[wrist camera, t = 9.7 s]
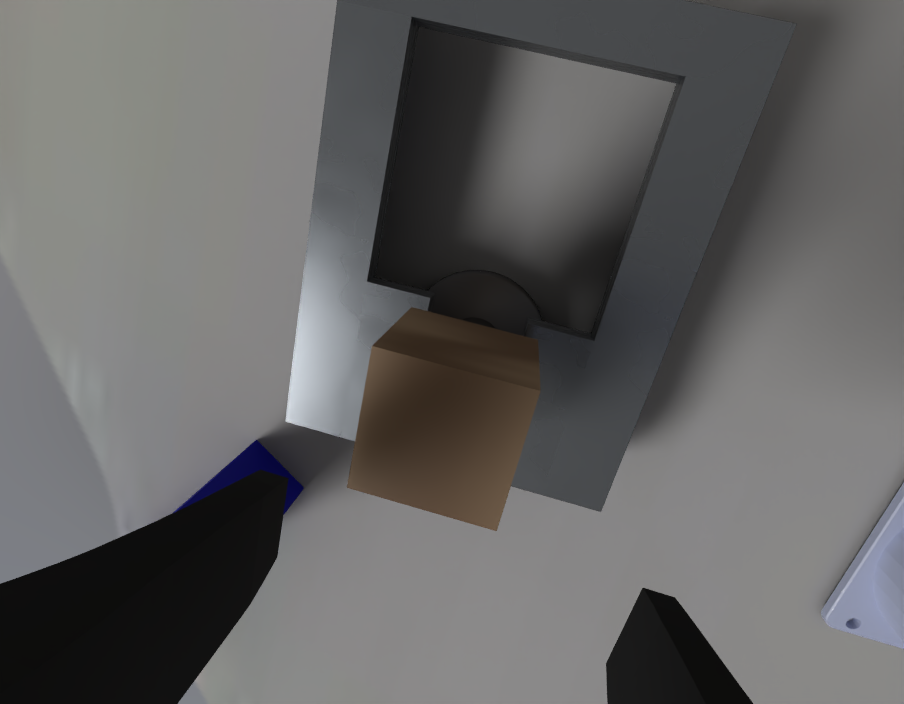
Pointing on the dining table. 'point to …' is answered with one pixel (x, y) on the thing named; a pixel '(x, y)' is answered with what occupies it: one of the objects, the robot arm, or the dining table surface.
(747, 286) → the dining table surface
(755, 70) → the notched window frame
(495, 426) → the peg
